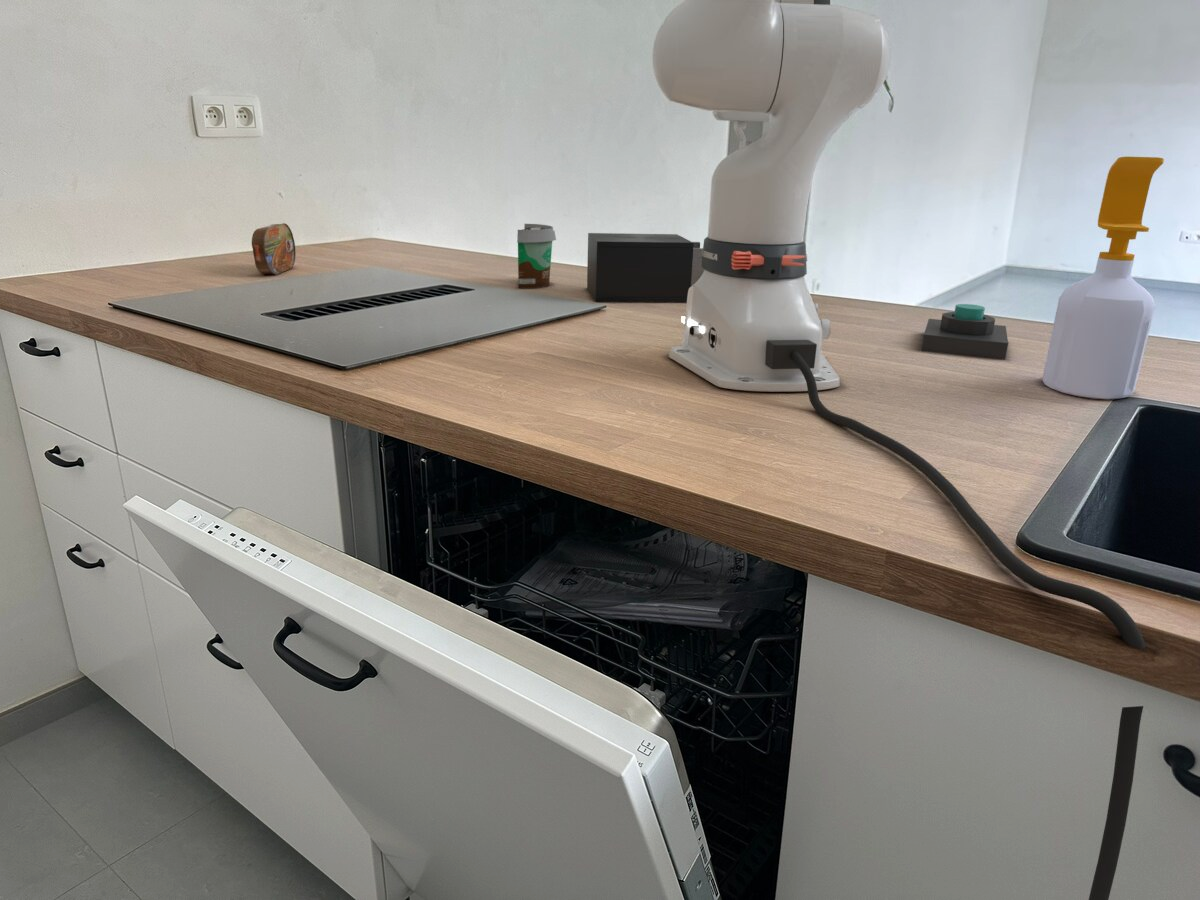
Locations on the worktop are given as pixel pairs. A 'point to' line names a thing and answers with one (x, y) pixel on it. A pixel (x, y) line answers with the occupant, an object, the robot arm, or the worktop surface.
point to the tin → (273, 249)
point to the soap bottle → (1106, 300)
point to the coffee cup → (534, 255)
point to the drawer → (696, 263)
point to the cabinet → (639, 267)
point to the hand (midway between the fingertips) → (773, 153)
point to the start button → (969, 311)
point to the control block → (966, 337)
